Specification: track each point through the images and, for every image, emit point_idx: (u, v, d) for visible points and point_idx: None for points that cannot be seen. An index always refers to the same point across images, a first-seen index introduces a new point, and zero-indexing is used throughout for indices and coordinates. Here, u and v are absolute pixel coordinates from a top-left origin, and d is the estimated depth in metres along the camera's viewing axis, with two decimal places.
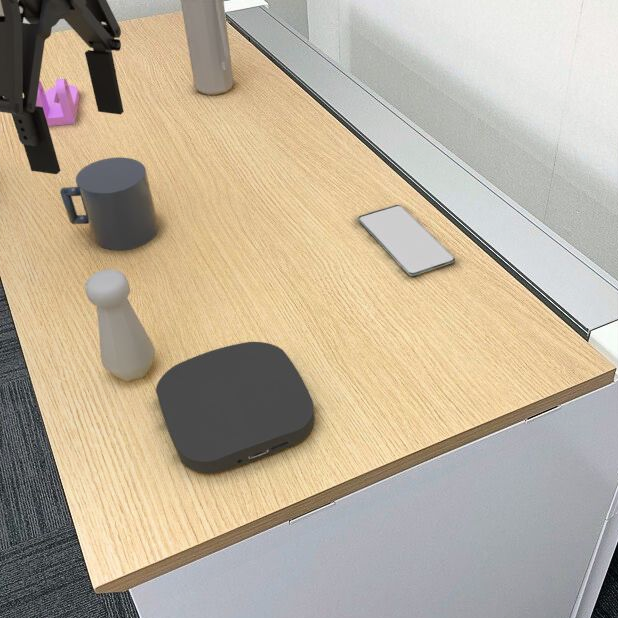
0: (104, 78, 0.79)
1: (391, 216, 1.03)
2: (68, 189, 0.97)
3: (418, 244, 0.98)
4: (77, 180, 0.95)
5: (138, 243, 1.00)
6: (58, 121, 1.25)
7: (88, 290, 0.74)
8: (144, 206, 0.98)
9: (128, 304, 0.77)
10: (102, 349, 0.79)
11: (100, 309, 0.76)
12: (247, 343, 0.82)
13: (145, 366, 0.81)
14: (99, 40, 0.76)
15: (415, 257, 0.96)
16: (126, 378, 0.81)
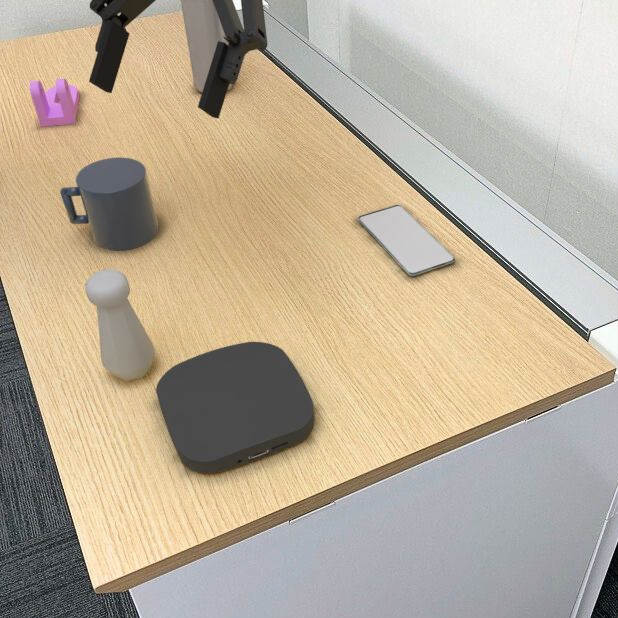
0: (116, 52, 0.76)
1: (391, 216, 1.03)
2: (68, 189, 0.97)
3: (418, 244, 0.98)
4: (77, 180, 0.95)
5: (138, 243, 1.00)
6: (58, 121, 1.25)
7: (88, 290, 0.74)
8: (144, 206, 0.98)
9: (128, 304, 0.77)
10: (102, 349, 0.79)
11: (100, 309, 0.76)
12: (247, 343, 0.82)
13: (145, 366, 0.81)
14: (132, 17, 0.76)
15: (415, 257, 0.96)
16: (126, 378, 0.81)
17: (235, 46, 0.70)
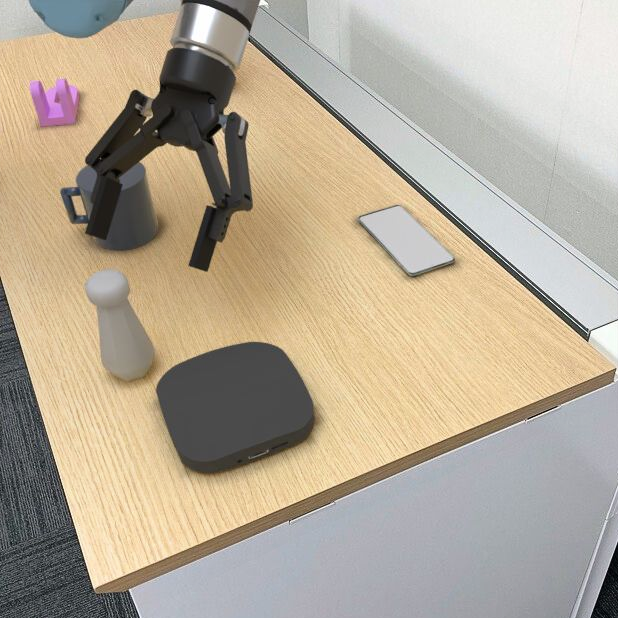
0: (110, 204, 0.81)
1: (391, 216, 1.03)
2: (68, 189, 0.97)
3: (418, 244, 0.98)
4: (77, 180, 0.95)
5: (138, 243, 1.00)
6: (58, 121, 1.25)
7: (88, 290, 0.74)
8: (144, 206, 0.98)
9: (128, 304, 0.77)
10: (102, 349, 0.79)
11: (100, 309, 0.76)
12: (247, 343, 0.82)
13: (145, 366, 0.81)
14: (125, 170, 0.81)
15: (415, 257, 0.96)
16: (126, 378, 0.81)
17: (223, 209, 0.75)
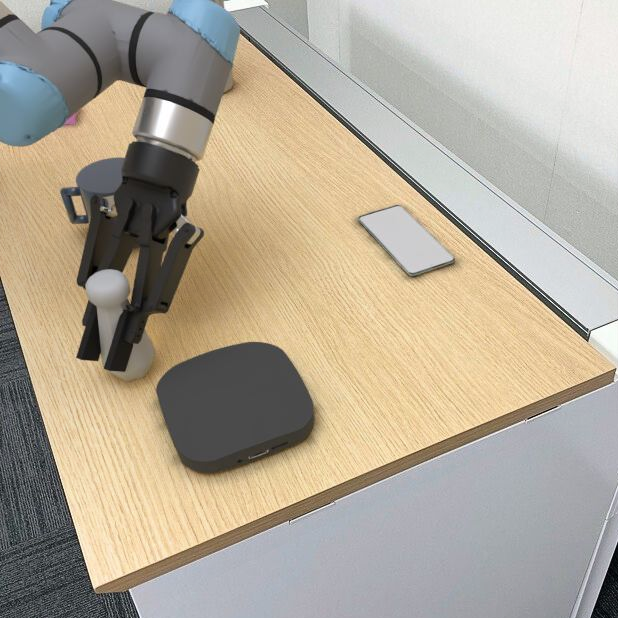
0: None
1: (391, 216, 1.03)
2: (68, 189, 0.97)
3: (418, 244, 0.98)
4: (77, 180, 0.95)
5: None
6: None
7: (89, 290, 0.74)
8: None
9: None
10: (102, 349, 0.79)
11: (100, 309, 0.76)
12: (247, 343, 0.82)
13: (145, 366, 0.81)
14: None
15: (415, 257, 0.96)
16: (126, 378, 0.81)
17: (135, 313, 0.76)
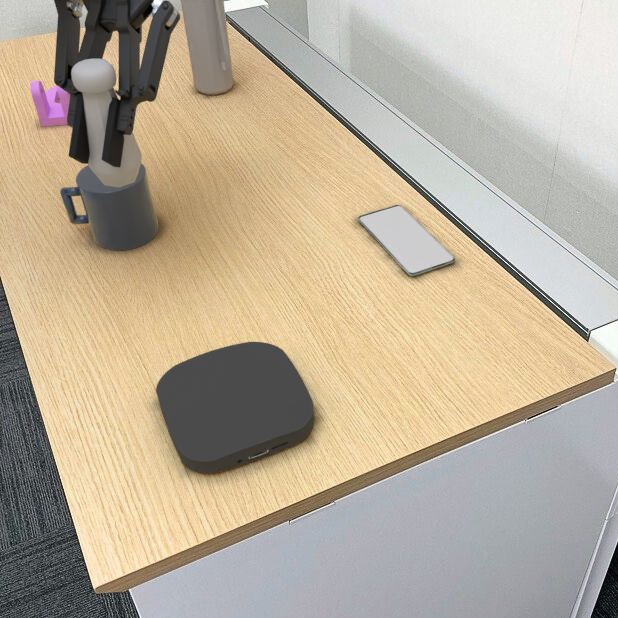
0: None
1: (391, 216, 1.03)
2: (68, 189, 0.97)
3: (418, 244, 0.98)
4: (77, 180, 0.95)
5: (138, 243, 1.00)
6: (59, 121, 1.25)
7: (77, 75, 0.73)
8: (144, 206, 0.98)
9: (115, 95, 0.76)
10: (92, 149, 0.78)
11: (89, 99, 0.75)
12: (247, 343, 0.82)
13: (136, 166, 0.81)
14: None
15: (415, 257, 0.96)
16: (118, 182, 0.81)
17: (124, 100, 0.76)
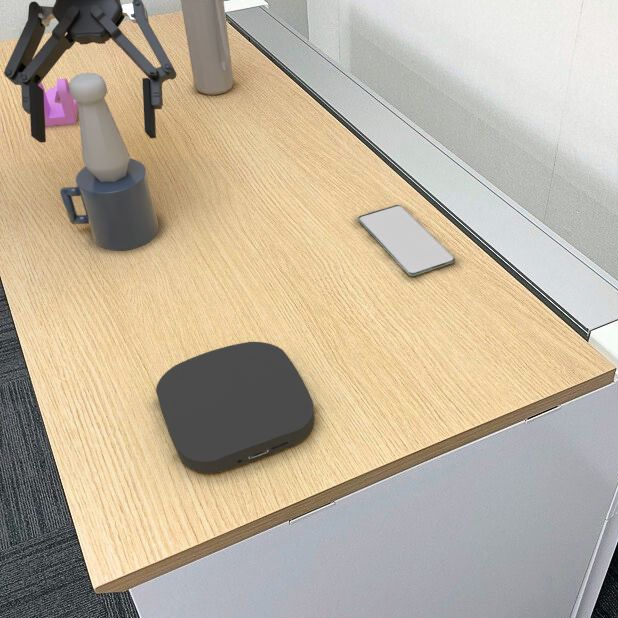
0: (41, 108, 0.90)
1: (391, 216, 1.03)
2: (68, 189, 0.97)
3: (418, 244, 0.98)
4: (77, 180, 0.95)
5: (138, 243, 1.00)
6: (59, 121, 1.25)
7: (77, 87, 0.87)
8: (144, 206, 0.98)
9: (105, 102, 0.91)
10: (91, 151, 0.92)
11: (87, 108, 0.89)
12: (247, 343, 0.82)
13: (128, 161, 0.95)
14: (43, 76, 0.91)
15: (415, 257, 0.96)
16: (115, 176, 0.94)
17: (156, 79, 0.90)
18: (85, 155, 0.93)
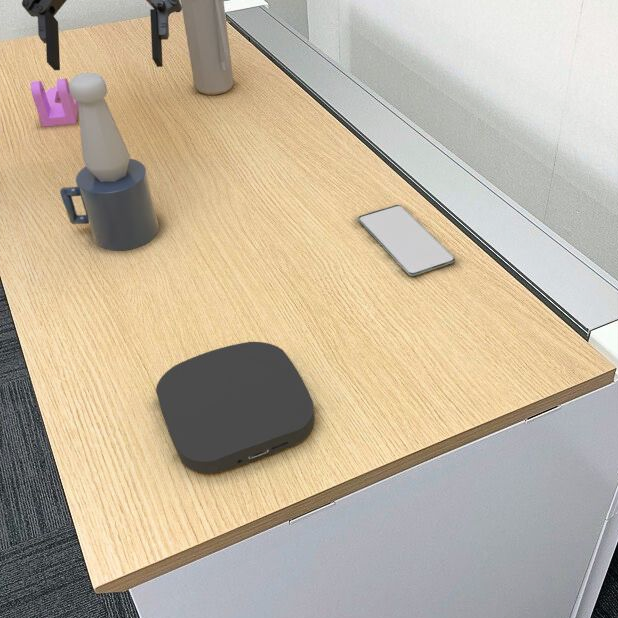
0: (56, 37, 0.97)
1: (391, 216, 1.03)
2: (68, 189, 0.97)
3: (418, 244, 0.98)
4: (77, 180, 0.95)
5: (138, 243, 1.00)
6: (59, 121, 1.25)
7: (77, 87, 0.87)
8: (144, 206, 0.98)
9: (105, 102, 0.91)
10: (91, 151, 0.92)
11: (87, 108, 0.89)
12: (247, 343, 0.82)
13: (128, 161, 0.95)
14: (57, 8, 0.98)
15: (415, 257, 0.96)
16: (115, 176, 0.94)
17: (163, 10, 0.97)
18: (85, 155, 0.93)
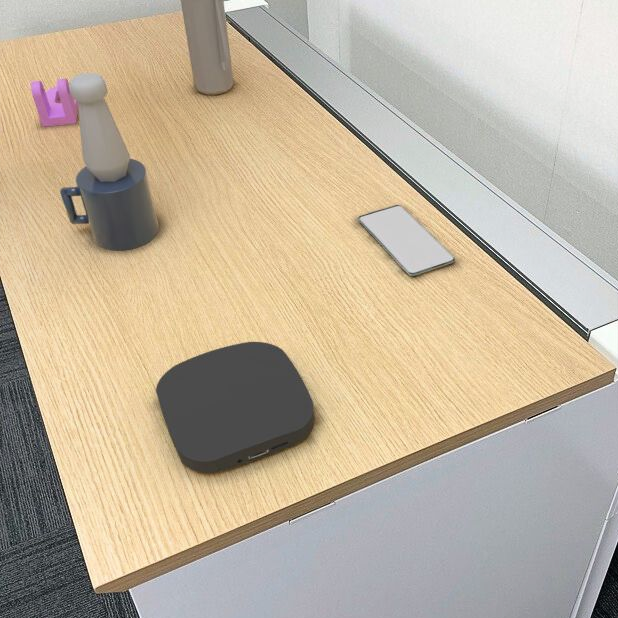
0: None
1: (391, 216, 1.03)
2: (68, 189, 0.97)
3: (418, 244, 0.98)
4: (77, 180, 0.95)
5: (138, 243, 1.00)
6: (59, 121, 1.25)
7: (77, 87, 0.87)
8: (144, 206, 0.98)
9: (105, 102, 0.91)
10: (91, 151, 0.92)
11: (87, 108, 0.89)
12: (247, 343, 0.82)
13: (128, 161, 0.95)
14: None
15: (415, 257, 0.96)
16: (115, 176, 0.94)
17: None
18: (85, 155, 0.93)
